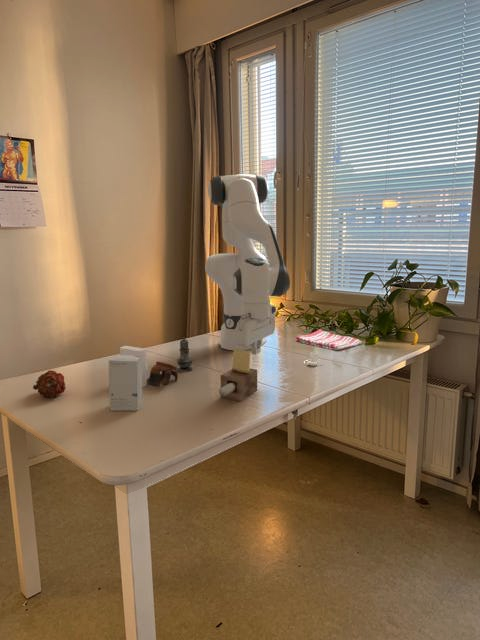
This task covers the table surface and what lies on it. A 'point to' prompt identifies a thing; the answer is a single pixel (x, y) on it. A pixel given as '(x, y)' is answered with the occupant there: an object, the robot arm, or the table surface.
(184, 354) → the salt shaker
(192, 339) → the table surface
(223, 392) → the pin
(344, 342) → the dish towel
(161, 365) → the brown grey sculpted ring
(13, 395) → the table surface
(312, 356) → the teacup and saucer
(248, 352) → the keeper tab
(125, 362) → the skincare box
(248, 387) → the hitch block
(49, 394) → the dragon fruit
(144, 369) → the base with upright slab
